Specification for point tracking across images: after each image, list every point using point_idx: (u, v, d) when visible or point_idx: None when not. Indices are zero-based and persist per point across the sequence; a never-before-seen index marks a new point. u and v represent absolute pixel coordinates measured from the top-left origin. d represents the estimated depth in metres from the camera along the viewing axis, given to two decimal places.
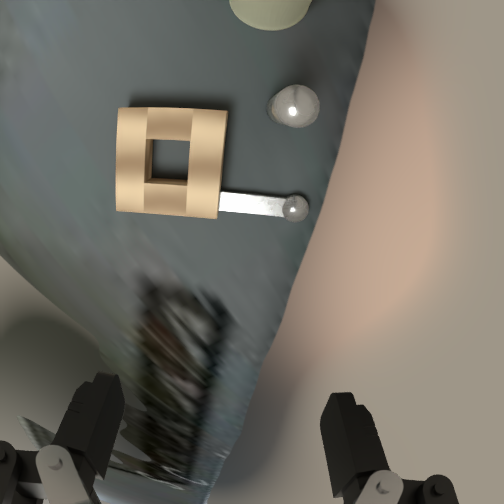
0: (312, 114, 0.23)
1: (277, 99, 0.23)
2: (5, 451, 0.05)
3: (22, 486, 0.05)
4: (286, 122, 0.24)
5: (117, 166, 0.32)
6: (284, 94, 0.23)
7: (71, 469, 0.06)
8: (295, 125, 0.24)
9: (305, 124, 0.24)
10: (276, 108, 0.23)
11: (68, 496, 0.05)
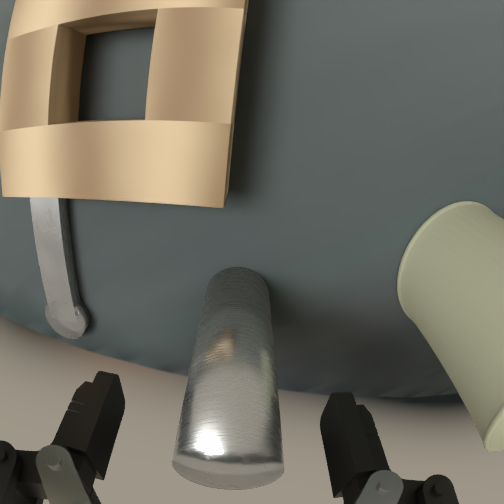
0: (211, 482, 0.09)
1: (241, 448, 0.08)
2: (5, 451, 0.05)
3: (22, 486, 0.05)
4: (179, 456, 0.08)
5: None
6: (255, 457, 0.08)
7: (71, 469, 0.06)
8: (177, 465, 0.08)
9: (185, 475, 0.09)
10: (214, 445, 0.08)
11: (68, 496, 0.05)
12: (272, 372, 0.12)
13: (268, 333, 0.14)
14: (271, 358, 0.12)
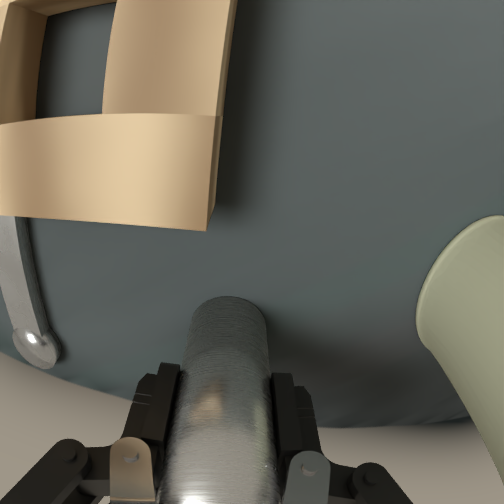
0: None
1: None
2: (74, 450, 0.07)
3: (82, 487, 0.06)
4: None
5: None
6: None
7: (151, 460, 0.07)
8: None
9: None
10: None
11: (133, 490, 0.06)
12: (271, 444, 0.08)
13: (266, 388, 0.10)
14: (270, 423, 0.09)
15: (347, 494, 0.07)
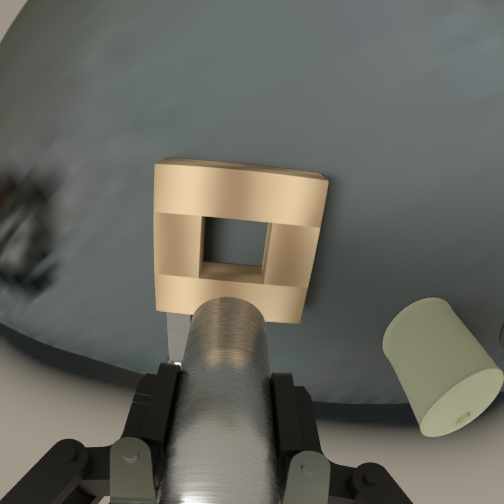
0: None
1: None
2: (74, 450, 0.07)
3: (82, 487, 0.06)
4: None
5: (231, 171, 0.21)
6: None
7: (151, 460, 0.07)
8: None
9: None
10: None
11: (133, 490, 0.06)
12: (271, 445, 0.08)
13: (266, 389, 0.10)
14: (270, 423, 0.09)
15: (347, 494, 0.07)
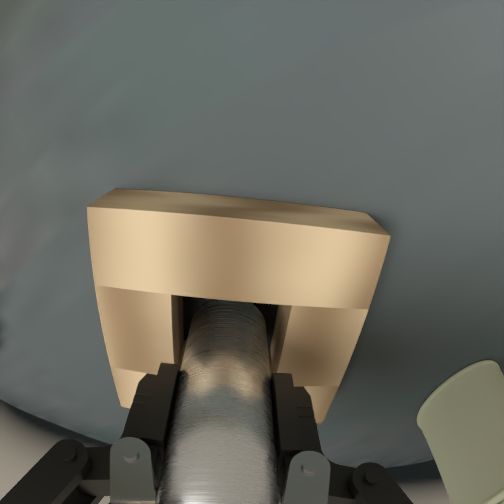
0: None
1: None
2: (74, 450, 0.07)
3: (82, 487, 0.06)
4: None
5: (219, 221, 0.11)
6: None
7: (151, 460, 0.07)
8: None
9: None
10: None
11: (133, 490, 0.06)
12: (271, 444, 0.08)
13: (266, 388, 0.10)
14: (270, 423, 0.09)
15: (347, 494, 0.07)
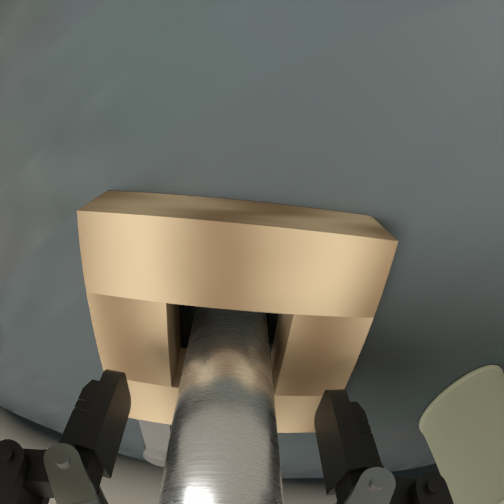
0: None
1: None
2: (12, 450, 0.06)
3: (28, 485, 0.05)
4: None
5: (216, 226, 0.11)
6: None
7: (79, 467, 0.06)
8: None
9: None
10: None
11: (75, 494, 0.05)
12: (271, 420, 0.09)
13: (266, 369, 0.11)
14: (271, 401, 0.10)
15: None
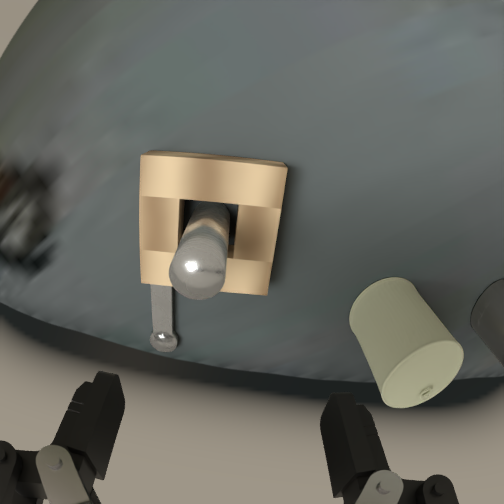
0: (188, 291, 0.20)
1: (202, 251, 0.19)
2: (5, 451, 0.05)
3: (22, 486, 0.05)
4: (173, 262, 0.19)
5: (203, 161, 0.24)
6: (209, 260, 0.19)
7: (71, 469, 0.06)
8: (171, 273, 0.20)
9: (174, 284, 0.20)
10: (190, 250, 0.19)
11: (68, 496, 0.05)
12: (224, 238, 0.23)
13: (225, 226, 0.25)
14: (225, 234, 0.24)
15: None
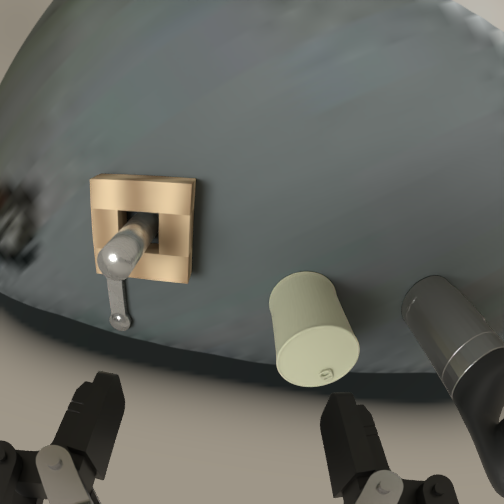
0: (110, 275, 0.28)
1: (115, 247, 0.27)
2: (5, 451, 0.05)
3: (22, 486, 0.05)
4: (99, 255, 0.27)
5: (131, 182, 0.32)
6: (120, 253, 0.27)
7: (71, 469, 0.06)
8: (98, 262, 0.27)
9: (101, 270, 0.28)
10: (108, 246, 0.27)
11: (68, 496, 0.05)
12: (140, 238, 0.31)
13: (146, 229, 0.33)
14: (143, 236, 0.31)
15: None
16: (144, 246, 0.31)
